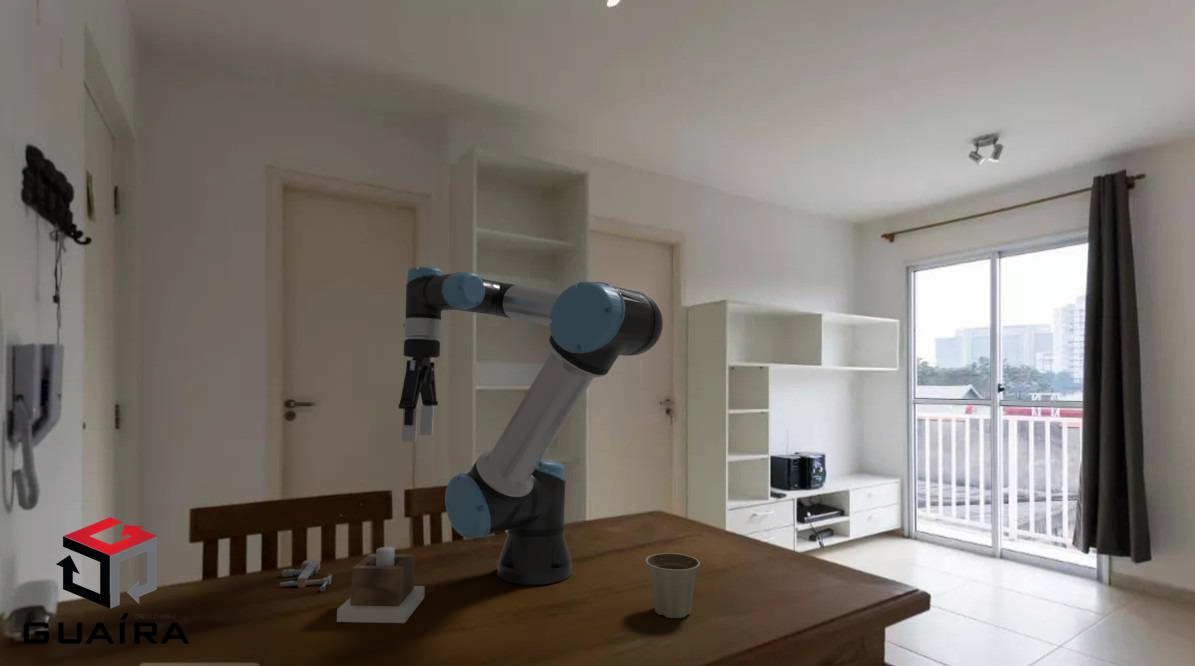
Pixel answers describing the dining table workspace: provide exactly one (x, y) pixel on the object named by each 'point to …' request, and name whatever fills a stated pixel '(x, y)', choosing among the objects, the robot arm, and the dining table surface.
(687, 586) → the flower pot
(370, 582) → the open brown box
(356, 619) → the post block
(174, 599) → the dining table surface
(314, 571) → the clamp
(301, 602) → the dining table surface
